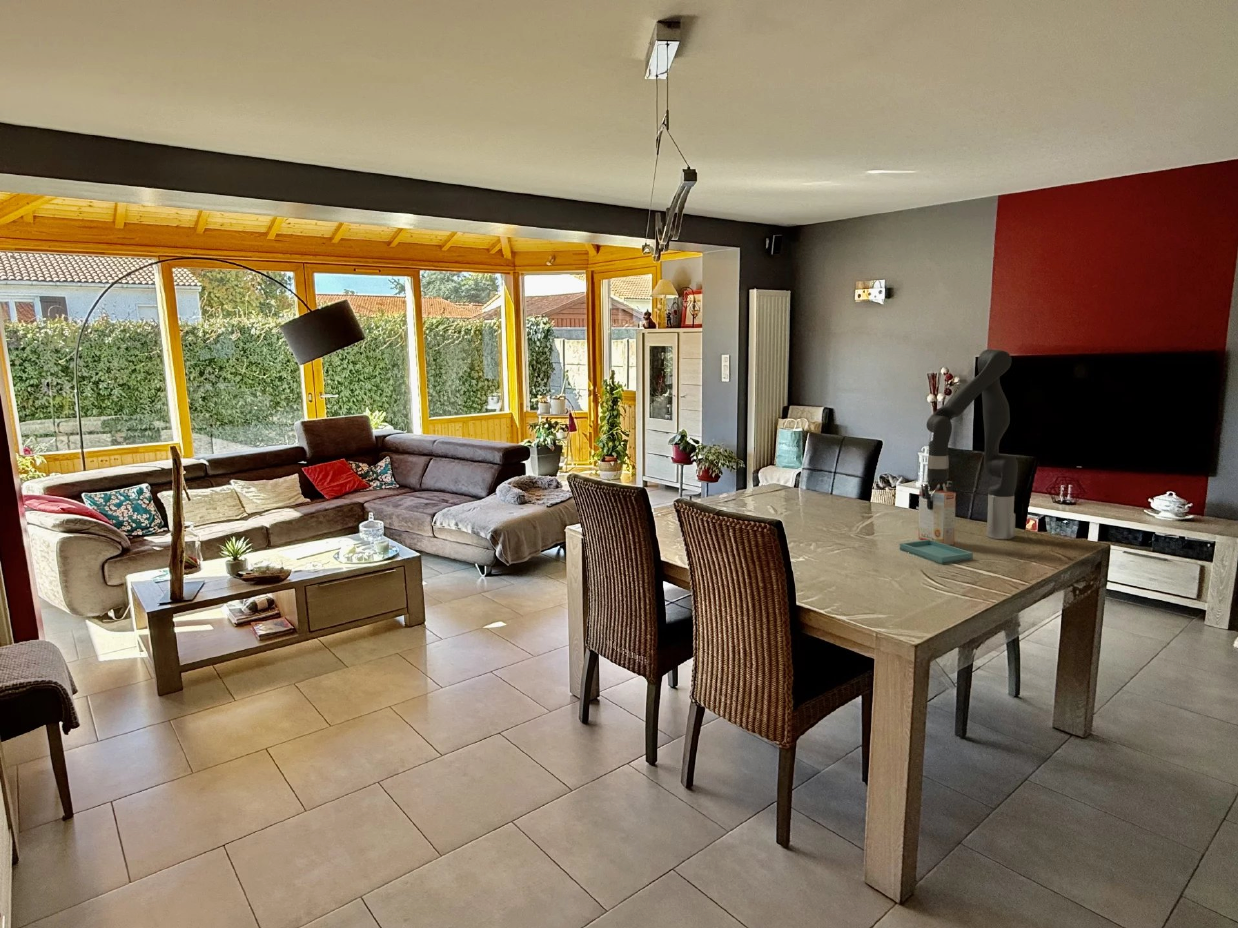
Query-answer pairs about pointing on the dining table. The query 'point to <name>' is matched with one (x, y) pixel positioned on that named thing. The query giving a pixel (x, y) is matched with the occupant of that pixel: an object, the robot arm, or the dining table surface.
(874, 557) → the dining table surface
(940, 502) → the cracker box
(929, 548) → the teal tray
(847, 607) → the dining table surface
